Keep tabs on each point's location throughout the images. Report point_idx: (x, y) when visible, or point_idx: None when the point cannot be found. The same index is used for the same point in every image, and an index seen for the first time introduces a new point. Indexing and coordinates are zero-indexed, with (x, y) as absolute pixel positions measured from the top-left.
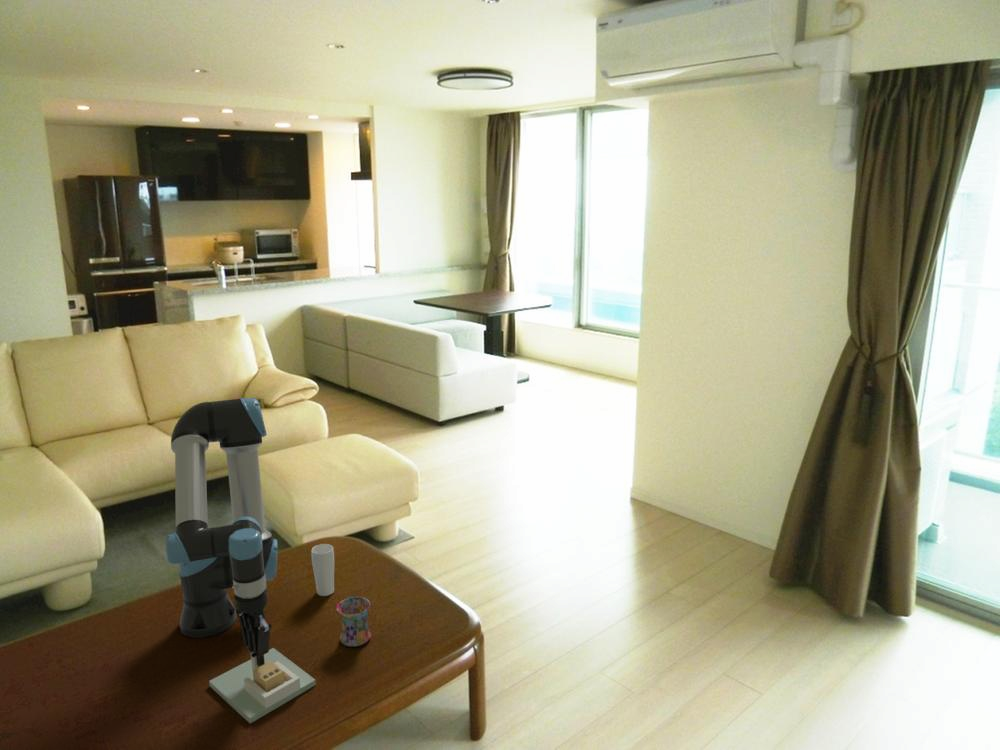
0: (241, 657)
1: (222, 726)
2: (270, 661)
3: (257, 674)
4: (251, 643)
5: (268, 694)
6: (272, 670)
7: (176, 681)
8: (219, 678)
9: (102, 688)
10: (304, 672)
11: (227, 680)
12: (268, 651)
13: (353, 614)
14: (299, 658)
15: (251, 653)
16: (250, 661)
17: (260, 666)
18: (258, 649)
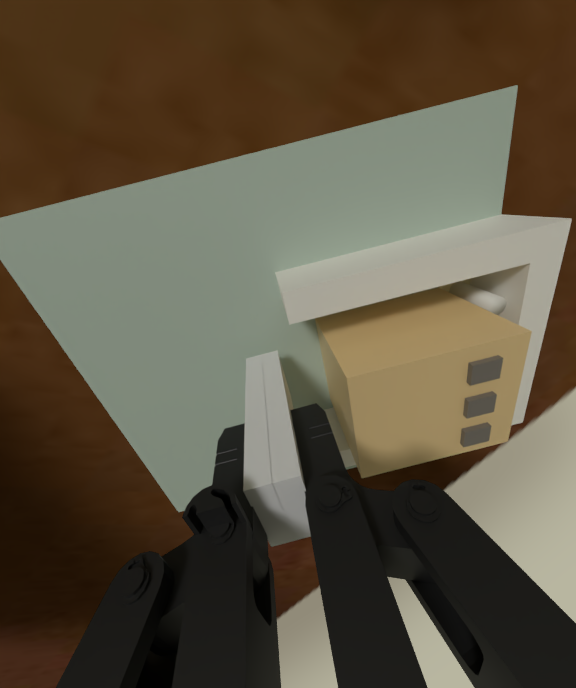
0: (10, 382)
1: (402, 477)
2: (346, 380)
3: (415, 463)
4: (276, 672)
5: (519, 407)
6: (455, 391)
7: (106, 553)
8: (180, 487)
9: (66, 647)
10: (392, 124)
11: (210, 468)
12: (445, 495)
13: None
14: (151, 71)
15: (279, 542)
16: (100, 377)
17: (291, 407)
18: (470, 646)
